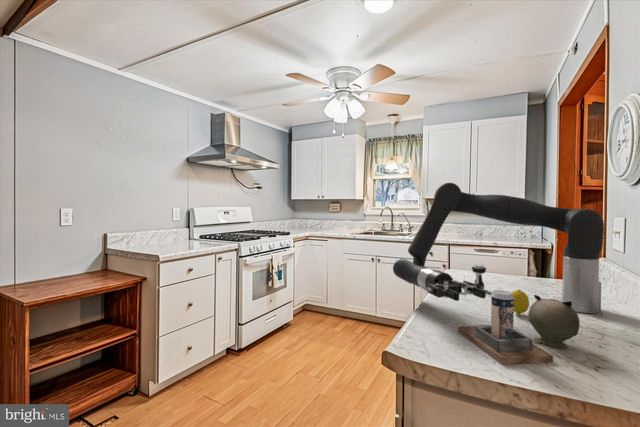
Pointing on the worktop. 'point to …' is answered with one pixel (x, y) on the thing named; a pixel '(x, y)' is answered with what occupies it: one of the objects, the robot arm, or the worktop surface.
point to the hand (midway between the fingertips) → (471, 295)
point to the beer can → (502, 314)
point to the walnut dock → (506, 346)
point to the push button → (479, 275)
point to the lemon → (520, 301)
